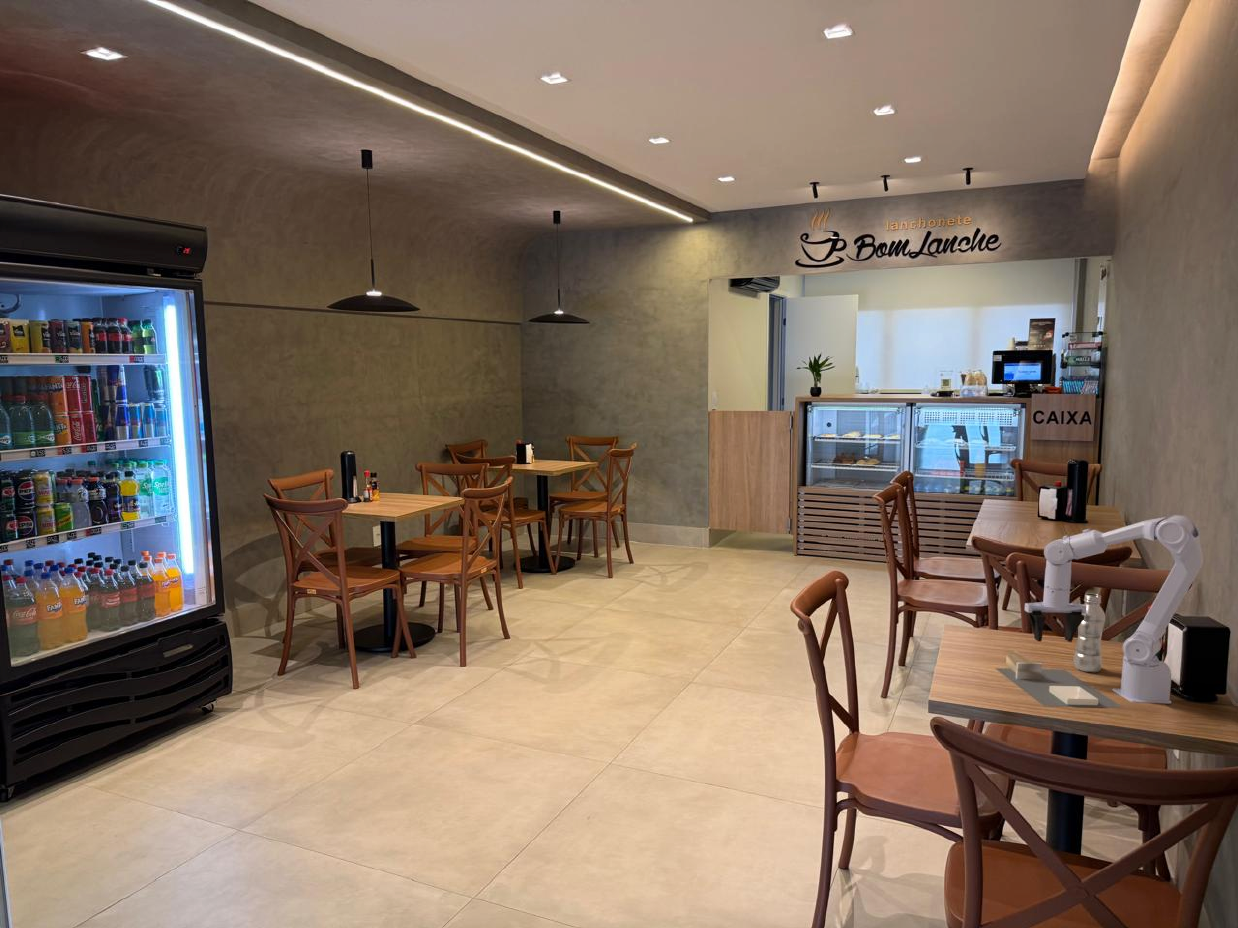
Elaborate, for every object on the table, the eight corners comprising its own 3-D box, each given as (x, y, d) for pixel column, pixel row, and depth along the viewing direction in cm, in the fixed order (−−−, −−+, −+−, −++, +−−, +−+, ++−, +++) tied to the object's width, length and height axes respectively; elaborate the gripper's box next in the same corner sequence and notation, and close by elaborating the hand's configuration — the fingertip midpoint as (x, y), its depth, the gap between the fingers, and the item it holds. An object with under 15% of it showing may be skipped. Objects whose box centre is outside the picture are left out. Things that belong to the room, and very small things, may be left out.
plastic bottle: (1075, 673, 212) (1081, 596, 210) (1070, 665, 218) (1076, 590, 216) (1104, 676, 210) (1110, 599, 208) (1098, 668, 216) (1104, 593, 214)
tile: (1079, 686, 197) (1098, 699, 189) (1078, 692, 197) (1097, 706, 189) (1049, 685, 197) (1067, 698, 189) (1049, 692, 197) (1067, 705, 189)
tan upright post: (1021, 665, 216) (1023, 650, 215) (1041, 679, 206) (1042, 663, 205) (998, 665, 216) (999, 650, 215) (1017, 679, 206) (1018, 663, 205)
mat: (1064, 671, 214) (1064, 669, 214) (1123, 709, 189) (1123, 707, 189) (994, 669, 214) (994, 668, 214) (1044, 707, 189) (1044, 705, 189)
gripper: (1077, 584, 211) (1073, 636, 212) (1020, 582, 211) (1016, 634, 212) (1093, 591, 204) (1088, 644, 205) (1034, 589, 204) (1030, 643, 205)
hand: (1053, 640), depth 208 cm, fingers open, 7 cm apart
